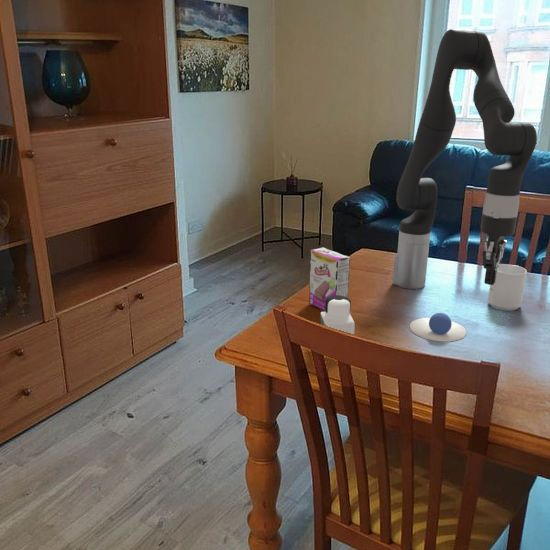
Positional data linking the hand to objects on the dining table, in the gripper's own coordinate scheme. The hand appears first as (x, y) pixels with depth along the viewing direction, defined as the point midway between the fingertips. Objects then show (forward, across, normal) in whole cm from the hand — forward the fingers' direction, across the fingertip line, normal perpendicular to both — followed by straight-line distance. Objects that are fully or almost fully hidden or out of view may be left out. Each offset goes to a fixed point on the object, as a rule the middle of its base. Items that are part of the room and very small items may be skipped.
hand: (489, 283), depth 134 cm
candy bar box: (+15, +4, -41) cm, 44 cm away
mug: (+15, -28, -1) cm, 32 cm away
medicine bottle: (+15, +22, -29) cm, 39 cm away
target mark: (+15, 0, -11) cm, 19 cm away
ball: (+12, +2, -10) cm, 16 cm away
